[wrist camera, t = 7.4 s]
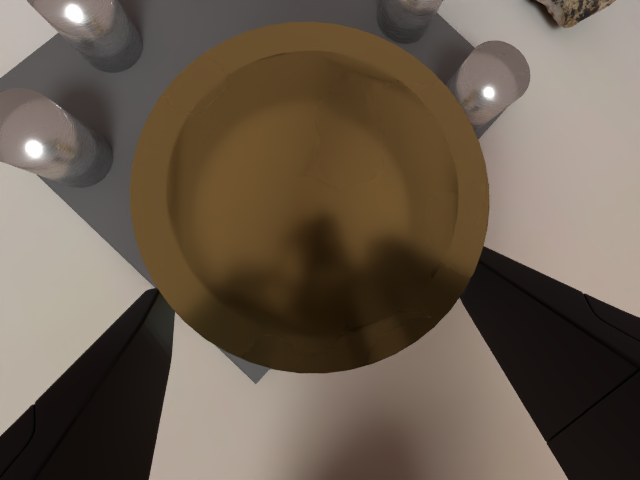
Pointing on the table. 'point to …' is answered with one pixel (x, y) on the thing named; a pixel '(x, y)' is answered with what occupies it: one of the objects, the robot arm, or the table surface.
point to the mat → (163, 67)
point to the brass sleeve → (309, 197)
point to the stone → (573, 10)
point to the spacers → (126, 48)
